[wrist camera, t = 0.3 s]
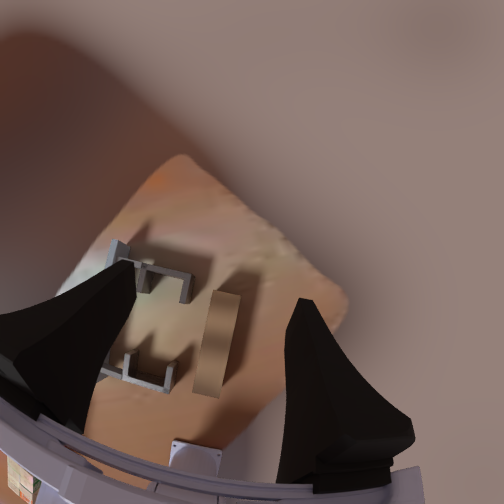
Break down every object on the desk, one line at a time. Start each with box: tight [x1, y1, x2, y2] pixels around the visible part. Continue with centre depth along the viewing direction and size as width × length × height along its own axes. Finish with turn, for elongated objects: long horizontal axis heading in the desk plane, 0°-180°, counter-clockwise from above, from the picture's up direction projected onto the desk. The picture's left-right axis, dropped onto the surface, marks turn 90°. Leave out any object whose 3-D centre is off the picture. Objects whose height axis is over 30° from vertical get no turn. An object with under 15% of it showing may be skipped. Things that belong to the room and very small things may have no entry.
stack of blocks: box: [7, 445, 66, 504], centre depth 25 cm, size 21×6×12 cm, turn 153°
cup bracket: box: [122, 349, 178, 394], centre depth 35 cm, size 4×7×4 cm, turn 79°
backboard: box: [96, 239, 142, 383], centre depth 35 cm, size 21×5×5 cm, turn 169°
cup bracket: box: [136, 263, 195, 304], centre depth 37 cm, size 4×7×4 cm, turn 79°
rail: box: [192, 290, 241, 398], centre depth 36 cm, size 14×4×5 cm, turn 168°
